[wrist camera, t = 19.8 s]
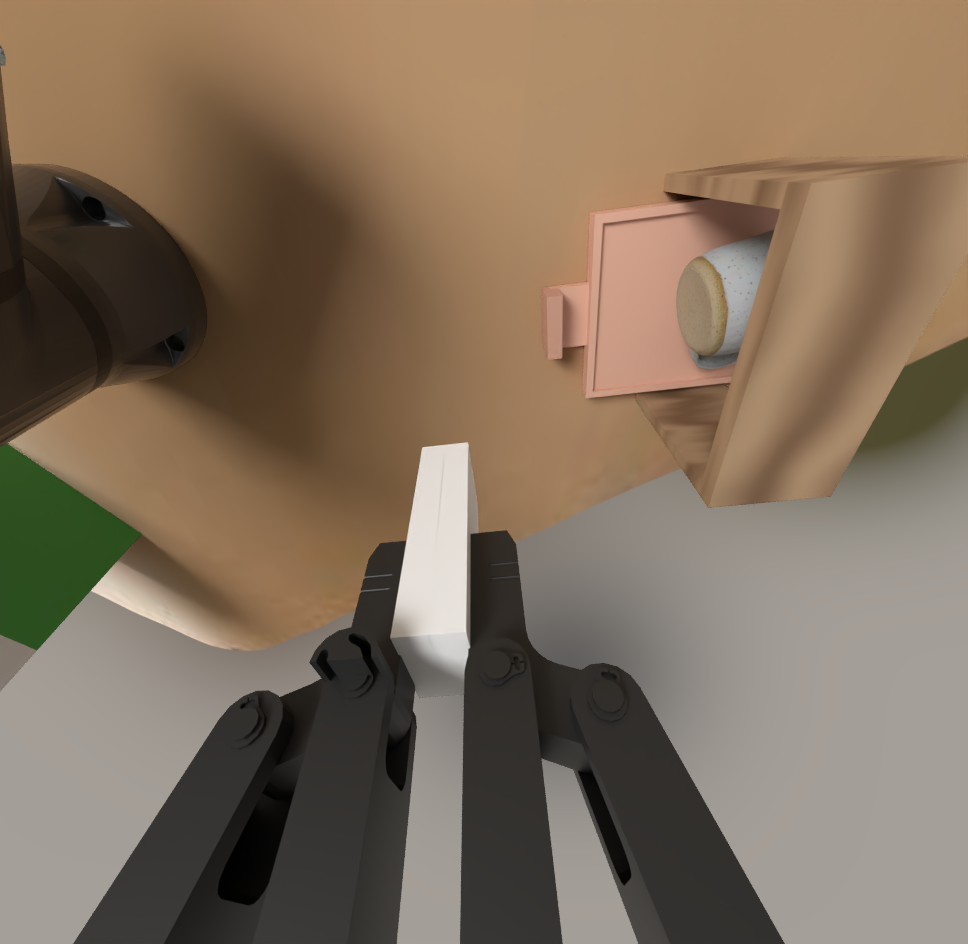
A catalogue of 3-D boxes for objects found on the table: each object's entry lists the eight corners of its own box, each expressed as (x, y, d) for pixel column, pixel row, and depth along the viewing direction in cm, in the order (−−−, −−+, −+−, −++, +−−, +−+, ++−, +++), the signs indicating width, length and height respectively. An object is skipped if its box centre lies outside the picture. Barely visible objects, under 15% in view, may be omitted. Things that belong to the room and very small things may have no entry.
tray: (544, 394, 39) (548, 410, 36) (540, 219, 30) (545, 224, 27) (737, 373, 38) (755, 387, 35) (793, 185, 29) (821, 186, 26)
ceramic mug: (670, 246, 29) (728, 276, 23) (787, 207, 28) (879, 227, 22) (667, 373, 36) (712, 420, 30) (762, 345, 35) (827, 388, 29)
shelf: (635, 400, 39) (708, 507, 27) (666, 174, 28) (811, 183, 16) (718, 391, 39) (830, 496, 27) (782, 157, 28) (1023, 154, 16)
